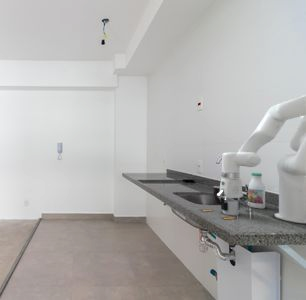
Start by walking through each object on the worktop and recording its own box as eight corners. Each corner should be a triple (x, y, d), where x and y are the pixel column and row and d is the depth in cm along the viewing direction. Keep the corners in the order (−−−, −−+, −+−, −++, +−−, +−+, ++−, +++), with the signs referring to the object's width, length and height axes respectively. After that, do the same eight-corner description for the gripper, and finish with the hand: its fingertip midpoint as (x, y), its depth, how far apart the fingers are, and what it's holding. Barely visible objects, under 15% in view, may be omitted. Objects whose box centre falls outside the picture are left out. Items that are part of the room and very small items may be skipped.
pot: (229, 211, 113) (229, 198, 113) (241, 215, 106) (241, 201, 106) (219, 212, 111) (219, 199, 111) (231, 215, 105) (231, 202, 105)
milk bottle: (252, 204, 127) (252, 172, 127) (267, 208, 120) (268, 173, 120) (245, 206, 123) (245, 172, 123) (260, 209, 116) (261, 174, 116)
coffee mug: (223, 201, 135) (223, 186, 135) (233, 204, 126) (233, 188, 126) (205, 201, 134) (205, 186, 134) (214, 205, 126) (214, 188, 126)
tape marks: (211, 210, 114) (211, 209, 114) (235, 218, 101) (235, 218, 101) (201, 210, 113) (201, 210, 113) (225, 219, 99) (225, 218, 99)
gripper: (223, 177, 103) (223, 212, 103) (250, 176, 107) (250, 210, 107) (210, 175, 110) (210, 208, 110) (236, 174, 114) (236, 206, 114)
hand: (230, 209), depth 109 cm, fingers closed on pot, 6 cm apart
